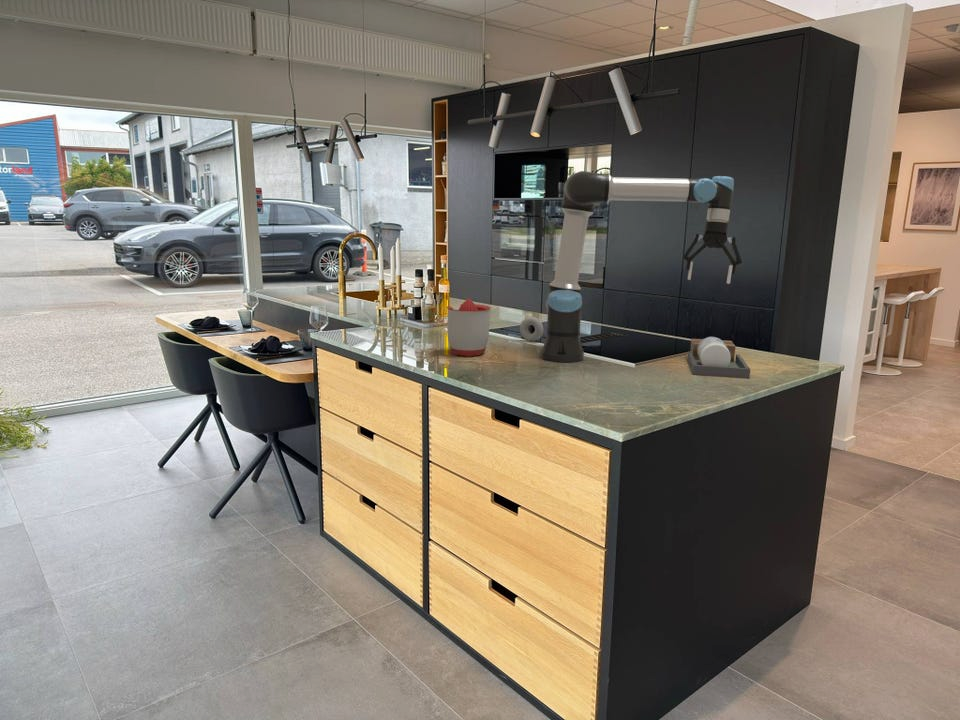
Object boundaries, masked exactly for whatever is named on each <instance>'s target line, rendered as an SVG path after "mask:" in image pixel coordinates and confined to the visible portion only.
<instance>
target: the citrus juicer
mask: <svg viewBox="0 0 960 720" xmlns="http://www.w3.org/2000/svg"><path fill="white" fill-rule="evenodd" d="M446 309H447V316H446V317H447V321H446V323H447V326H446V327H447V328H446V331H447V340H448V344H449V348H450V351H451V353H452V354H454V355H458V356H464V357H473V356H481V355H484V353H485V351H486V349H487V345H488V341H489V336H490V312H491V311H490V309H491V307H490V306H489V305H484V304H475V302H473V300H472V299H470V298H467V299H466V300H464V302H463V303H461V304H460V307H459V308H458V309H454V308H453V307H452V306H451V305H447V306H446Z"/></svg>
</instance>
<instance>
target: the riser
mask: <svg viewBox="0 0 960 720" xmlns="http://www.w3.org/2000/svg"><path fill="white" fill-rule="evenodd" d="M703 339H704V338H691V340H690V350H689V352H692V354H693V357H694V359H695V360H700V359H699V356H698V353H697V348H698V345H699V343H700V342H701V341H702V340H703ZM721 340H722V339H721ZM722 341H723V342H724V344H725V345H726V347H727V348H728V350H729V352H730V356H731V360H730V362H735V357H736V345H735V344H734V342H733V341H732V340H722Z"/></svg>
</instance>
